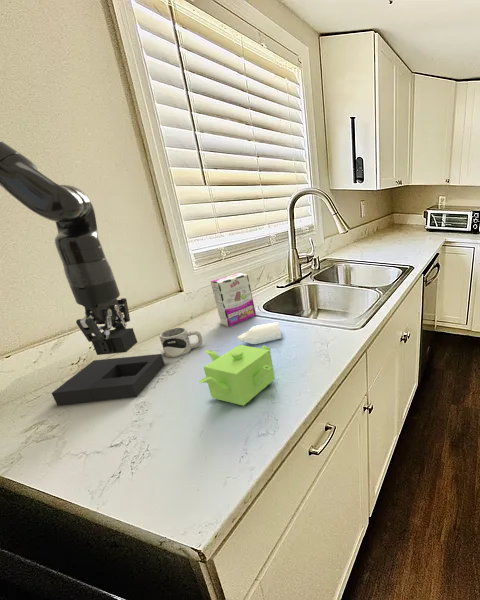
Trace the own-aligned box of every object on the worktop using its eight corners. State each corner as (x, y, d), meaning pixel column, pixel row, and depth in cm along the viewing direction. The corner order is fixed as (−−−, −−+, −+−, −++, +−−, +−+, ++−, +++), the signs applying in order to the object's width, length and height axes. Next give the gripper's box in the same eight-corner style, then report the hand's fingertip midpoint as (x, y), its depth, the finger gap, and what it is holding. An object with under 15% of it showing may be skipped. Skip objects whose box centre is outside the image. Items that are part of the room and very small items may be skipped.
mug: (163, 360, 92) (156, 339, 90) (167, 349, 98) (161, 329, 95) (203, 352, 96) (198, 332, 94) (205, 342, 102) (200, 323, 99)
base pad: (58, 407, 74) (51, 393, 72) (98, 373, 86) (93, 360, 85) (137, 398, 76) (132, 384, 75) (165, 366, 89) (161, 353, 88)
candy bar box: (248, 313, 123) (239, 272, 117) (256, 316, 120) (248, 273, 114) (220, 325, 114) (209, 280, 108) (228, 328, 111) (218, 282, 105)
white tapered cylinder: (238, 343, 101) (234, 327, 99) (278, 334, 107) (275, 318, 105) (240, 351, 96) (236, 334, 94) (282, 341, 102) (279, 325, 100)
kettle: (209, 422, 69) (197, 377, 65) (210, 386, 80) (199, 347, 76) (283, 399, 75) (275, 357, 71) (273, 370, 87) (266, 332, 83)
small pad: (97, 355, 76) (90, 339, 74) (110, 344, 80) (104, 330, 79) (126, 352, 77) (120, 337, 75) (137, 342, 81) (132, 327, 80)
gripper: (94, 272, 78) (117, 335, 84) (46, 292, 65) (78, 365, 71) (129, 270, 79) (150, 332, 85) (89, 289, 66) (116, 361, 72)
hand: (117, 347), depth 78 cm, fingers closed on small pad, 5 cm apart
